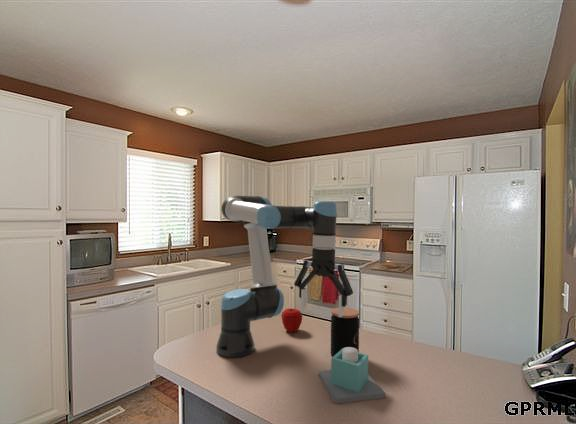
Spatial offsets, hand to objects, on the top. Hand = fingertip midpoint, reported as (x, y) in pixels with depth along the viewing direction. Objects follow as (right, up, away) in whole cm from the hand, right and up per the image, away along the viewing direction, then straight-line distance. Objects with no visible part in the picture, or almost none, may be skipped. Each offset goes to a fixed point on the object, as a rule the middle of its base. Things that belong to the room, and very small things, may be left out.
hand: (321, 311), depth 103 cm
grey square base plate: (+9, -23, -3) cm, 25 cm away
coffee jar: (+11, -24, +17) cm, 31 cm away
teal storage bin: (+9, -22, -3) cm, 23 cm away
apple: (-10, -24, +44) cm, 51 cm away
